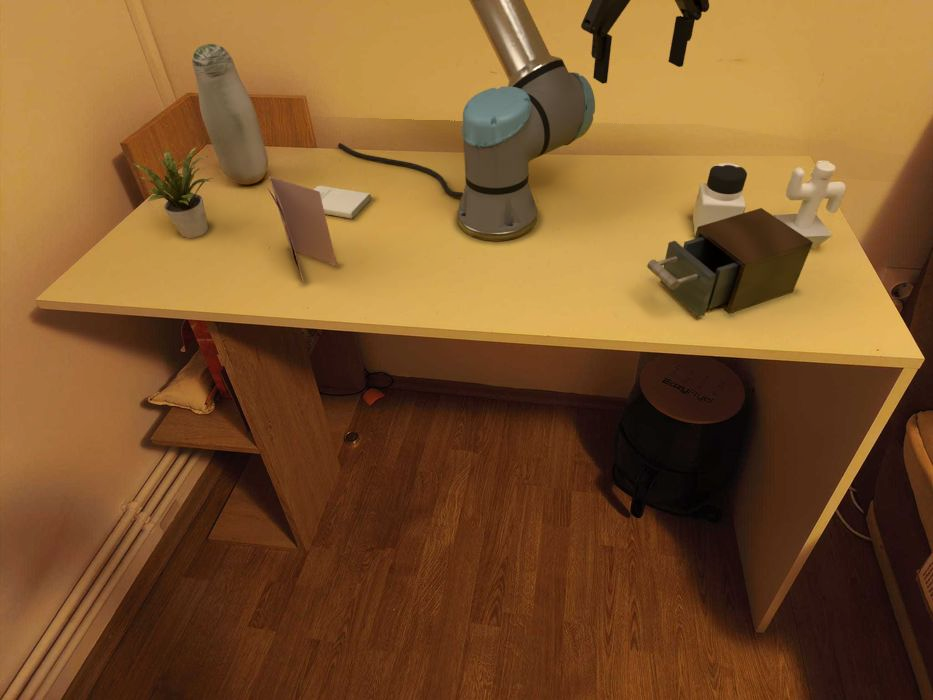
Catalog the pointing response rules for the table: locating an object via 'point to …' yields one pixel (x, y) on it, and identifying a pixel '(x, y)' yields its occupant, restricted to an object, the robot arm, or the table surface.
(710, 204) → the medicine bottle
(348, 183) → the table surface
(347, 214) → the hard drive
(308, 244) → the greeting card
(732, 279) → the grey pull-out drawer
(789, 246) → the cabinet
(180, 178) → the house plant
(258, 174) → the grey bottle
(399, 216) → the table surface
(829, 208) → the figurine
